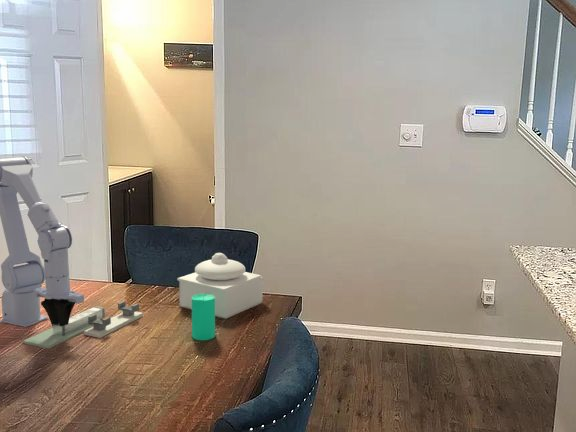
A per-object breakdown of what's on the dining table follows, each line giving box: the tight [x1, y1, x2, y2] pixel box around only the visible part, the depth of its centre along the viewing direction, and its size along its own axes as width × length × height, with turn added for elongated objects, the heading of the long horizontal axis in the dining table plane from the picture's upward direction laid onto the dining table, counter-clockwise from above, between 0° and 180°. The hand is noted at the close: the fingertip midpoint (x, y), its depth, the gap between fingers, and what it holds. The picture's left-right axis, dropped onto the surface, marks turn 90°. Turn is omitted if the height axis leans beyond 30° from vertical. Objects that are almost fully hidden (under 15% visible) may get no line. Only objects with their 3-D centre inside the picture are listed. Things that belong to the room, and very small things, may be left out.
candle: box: [191, 291, 216, 341], centre depth 162 cm, size 6×6×12 cm
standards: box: [83, 300, 144, 339], centre depth 169 cm, size 5×18×4 cm, turn 157°
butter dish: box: [176, 252, 264, 319], centre depth 186 cm, size 18×18×16 cm
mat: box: [22, 324, 93, 350], centre depth 161 cm, size 8×16×1 cm, turn 157°
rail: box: [52, 305, 106, 336], centre depth 167 cm, size 3×16×3 cm, turn 156°
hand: (60, 326), depth 161 cm, fingers closed on rail, 2 cm apart
